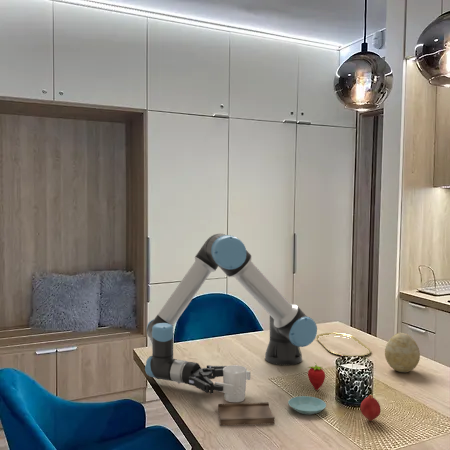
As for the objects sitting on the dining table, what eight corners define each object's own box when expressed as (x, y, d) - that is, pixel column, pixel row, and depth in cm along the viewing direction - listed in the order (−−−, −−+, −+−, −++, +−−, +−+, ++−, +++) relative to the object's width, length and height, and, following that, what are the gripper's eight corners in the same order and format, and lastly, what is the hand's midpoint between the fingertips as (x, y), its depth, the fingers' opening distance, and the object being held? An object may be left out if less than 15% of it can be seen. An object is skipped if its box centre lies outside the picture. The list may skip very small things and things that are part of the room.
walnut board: (268, 407, 153) (268, 402, 153) (274, 423, 142) (274, 417, 142) (218, 409, 152) (218, 403, 152) (220, 425, 141) (220, 419, 141)
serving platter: (334, 359, 201) (334, 356, 201) (311, 336, 236) (311, 333, 236) (377, 358, 203) (377, 354, 203) (348, 335, 238) (348, 332, 237)
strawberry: (310, 394, 163) (310, 365, 163) (305, 386, 171) (305, 358, 170) (327, 394, 164) (328, 365, 163) (321, 385, 171) (322, 358, 171)
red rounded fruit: (357, 416, 147) (357, 390, 147) (375, 415, 147) (376, 390, 147) (364, 425, 141) (364, 398, 141) (383, 424, 142) (383, 398, 141)
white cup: (244, 404, 156) (244, 374, 155) (220, 402, 157) (220, 372, 157) (248, 394, 163) (248, 365, 163) (225, 393, 165) (225, 364, 164)
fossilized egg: (382, 374, 183) (383, 335, 182) (386, 363, 195) (387, 327, 194) (418, 379, 178) (419, 339, 177) (420, 368, 189) (421, 331, 188)
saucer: (299, 399, 160) (299, 392, 160) (332, 408, 153) (332, 401, 153) (281, 411, 151) (281, 404, 151) (315, 422, 144) (315, 414, 144)
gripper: (203, 371, 179) (256, 380, 170) (166, 395, 157) (225, 408, 148) (203, 351, 179) (256, 360, 170) (166, 373, 157) (225, 384, 147)
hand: (242, 382), depth 159 cm, fingers open, 13 cm apart
